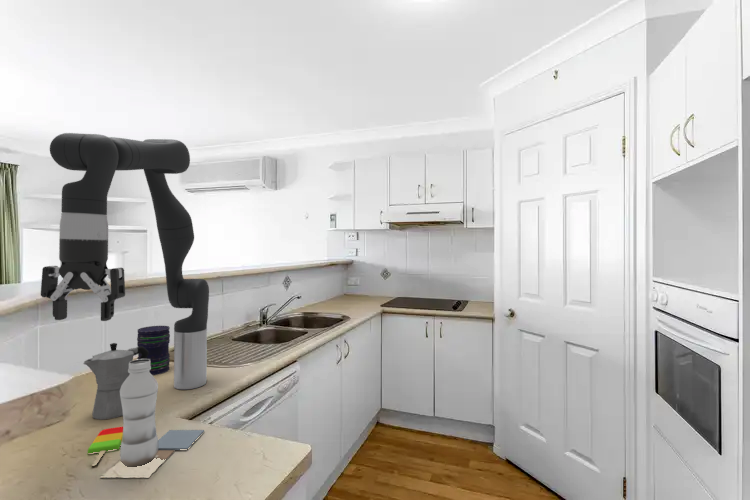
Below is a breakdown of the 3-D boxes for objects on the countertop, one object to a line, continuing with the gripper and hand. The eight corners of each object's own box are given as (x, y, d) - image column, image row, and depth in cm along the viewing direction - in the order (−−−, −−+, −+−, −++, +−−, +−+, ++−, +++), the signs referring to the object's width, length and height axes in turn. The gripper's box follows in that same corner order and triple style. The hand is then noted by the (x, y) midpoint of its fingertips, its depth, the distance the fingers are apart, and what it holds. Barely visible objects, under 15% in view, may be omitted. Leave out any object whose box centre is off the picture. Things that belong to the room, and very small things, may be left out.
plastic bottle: (140, 474, 70) (141, 367, 70) (110, 469, 72) (111, 365, 72) (166, 455, 77) (166, 357, 77) (138, 451, 78) (138, 355, 78)
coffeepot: (93, 426, 90) (93, 351, 90) (74, 417, 95) (74, 346, 95) (157, 403, 103) (157, 338, 103) (138, 397, 108) (138, 334, 108)
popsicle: (129, 432, 88) (129, 424, 88) (110, 467, 74) (110, 457, 74) (101, 437, 86) (101, 428, 86) (76, 473, 72) (76, 463, 72)
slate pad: (169, 432, 87) (169, 429, 87) (204, 432, 87) (204, 429, 87) (149, 450, 79) (149, 448, 79) (187, 450, 79) (187, 448, 79)
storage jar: (175, 367, 135) (176, 325, 135) (157, 376, 125) (157, 331, 125) (150, 366, 136) (150, 325, 136) (129, 375, 126) (130, 331, 126)
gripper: (133, 238, 77) (132, 316, 78) (61, 236, 76) (60, 315, 77) (110, 238, 70) (108, 325, 70) (29, 235, 69) (28, 323, 70)
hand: (83, 319), depth 74 cm, fingers open, 8 cm apart
